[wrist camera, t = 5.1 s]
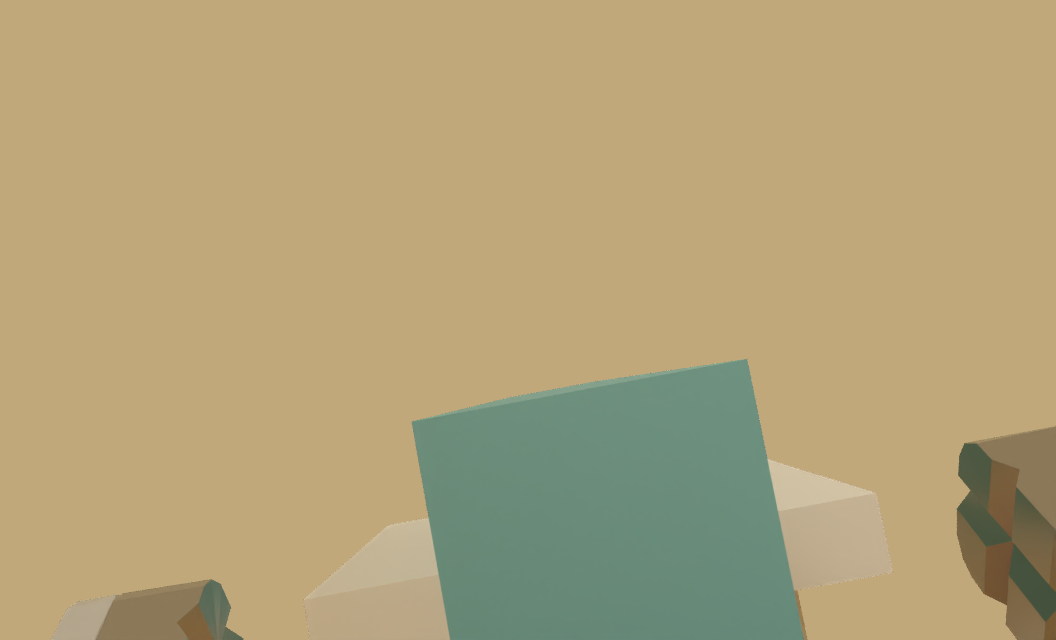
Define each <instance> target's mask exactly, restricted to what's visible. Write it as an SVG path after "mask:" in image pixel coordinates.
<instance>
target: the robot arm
mask: <svg viewBox="0 0 1056 640" xmlns="http://www.w3.org/2000/svg"><path fill="white" fill-rule="evenodd" d="M958 475H959V477H960V478H961V479H962V480H963V482H964V483H965V484H966V485H967V486H968V488H969V489H970V490H971V491H970V492H969V494H968V495H967V496H966V497H965V499H964V500H963V501H962V503H961V504H960V505H959V507H958V508H957V536H958V540H959V544H960V548H961V552H962V556H963V560H964V561H965V563H966V566H967V568H968V570H969V572H970V574H971V576H972V578H973V579H974V581H975V582H976V583H977V585H978V586H979V588H980V589H981V591H982V592H983V594H985V595H987V596H989V597H992V598H993V599H995V600H997V601H999V602H1001V603H1004V604H1006V605H1007V614H1006V625H1007V627H1008V628H1009V629H1010V631H1011V632H1012V633H1013V635H1014V636H1015V637H1016V639H1017V640H1056V426H1055V427H1050V428H1044V429H1039V430H1033V431H1028V432H1023V433H1018V434H1012V435H1007V436H1001V437H996V438H991V439H986V440H980V441H975V442H969V443H964V446H963V448H962V451H961V453H960V456H959V472H958ZM230 609H231V607H230V604H229V602H228V600H227V597H226V595H225V593H224V591H223V589H222V586H221V584H220V583H218V582H216V581H214V580H204V581H198V582H192V583H186V584H180V585H173V586H167V587H160V588H154V589H148V590H142V591H135V592H129V593H123V594H122V595H113V596H107V597H101V598H95V599H89V600H84V601H78V602H76V603H75V604H74V605H72V606H70V607H69V608H68V609H67V610H66V611H65V613H64V615H63V617H62V619H61V621H60V623H59V625H58V627H57V629H56V631H55V633H54V635H53V637H52V639H51V640H243V638H242V637H240V636H239V635H237V634H236V633H234V632H233V631H231V630H230V629H228V628H226V623H227V620H228V616H229V612H230Z"/></svg>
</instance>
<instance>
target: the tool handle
mask: <svg viewBox="0 0 1056 640" xmlns="http://www.w3.org/2000/svg"><path fill="white" fill-rule="evenodd" d="M412 425H413V432H414V438H415V443H416V449H417V455H418V460H419V466H420V472H421V477H422V483H423V489H424V494H425V500H426V506H427V511H428V516H429V523H430V528H431V534H432V540H433V545H434V551H435V557H436V562H437V568H438V574H439V579H440V585H441V591H442V597H443V602H444V608H445V614H446V619H447V625H448V631H449V636H450V640H804V637H803V632H802V627H801V622H800V617H799V612H798V607H797V602H796V598H795V593H794V588H793V583H792V578H791V573H790V568H789V563H788V558H787V553H786V548H785V543H784V538H783V533H782V529H781V524H780V519H779V514H778V509H777V504H776V499H775V494H774V489H773V484H772V479H771V474H770V469H769V464H768V460H767V455H766V450H765V445H764V440H763V435H762V430H761V425H760V420H759V415H758V411H757V405H756V400H755V395H754V391H753V386H752V381H751V376H750V371H749V366H748V361H747V359H744V360H738V361H731V362H724V363H717V364H711V365H704V366H697V367H690V368H684V369H677V370H670V371H663V372H657V373H650V374H644V375H636V376H630V377H624V378H617V379H609V380H603V381H596V382H590V383H585V384H580V385H575V386H569V387H564V388H558V389H553V390H547V391H542V392H537V393H531V394H526V395H521V396H515V397H510V398H506V399H502V400H498V401H494V402H490V403H486V404H481V405H478V406H474V407H469V408H466V409H461V410H457V411H453V412H449V413H445V414H441V415H437V416H433V417H429V418H425V419H420V420H417V421H413V422H412Z"/></svg>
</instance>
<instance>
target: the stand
mask: <svg viewBox="0 0 1056 640" xmlns="http://www.w3.org/2000/svg"><path fill="white" fill-rule="evenodd" d="M767 460H768V464H769V469H770V474H771V479H772V484H773V489H774V494H775V499H776V504H777V509H778V514H779V519H780V524H781V529H782V533H783V538H784V543H785V548H786V553H787V558H788V563H789V568H790V573H791V578H792V583H793V588H794V593H795V598H796V602H797V607H798V612H799V617H800V622H801V627H802V632H803V637H804V640H807V636H806V631H805V626H804V621H803V616H802V611H801V606H800V601H799V596H798V591H797V590H802V589H807V588H812V587H818V586H823V585H828V584H833V583H839V582H845V581H850V580H855V579H861V578H865V577H872V576H877V575H882V574H888V573H892V572H893V571H892V566H891V561H890V556H889V552H888V547H887V542H886V537H885V533H884V528H883V523H882V518H881V514H880V509H879V504H878V499H877V495H876V493H874V492H871V491H868V490H865V489H862V488H858V487H855V486H852V485H849V484H845V483H842V482H839V481H836V480H833V479H829V478H826V477H823V476H820V475H817V474H814V473H810V472H807V471H804V470H801V469H797V468H794V467H791V466H787V465H785V464H781V463H778V462H775V461H772V460H769V459H767ZM303 601H304V607H305V613H306V619H307V625H308V632H309V637H310V640H450V636H449V631H448V625H447V619H446V614H445V608H444V602H443V597H442V591H441V585H440V579H439V574H438V568H437V562H436V557H435V551H434V545H433V540H432V534H431V528H430V523H429V518H425V519H420V520H415V521H409V522H404V523H398V524H393V525H388V526H387V527H386V528H385V529H383V530H382V531H381V532H380V533H379V534H378V535H376V536H375V537H374V538H373V539H372V540H371V541H370V542H369V543H367V544H366V545H365V546H364V547H363V548H362V549H361V550H359V551H358V552H357V553H356V554H355V555H354V556H353V557H351V558H350V559H349V560H348V561H347V562H346V563H345V564H343V565H342V566H341V567H340V568H339V569H338V570H337V571H335V572H334V573H333V574H332V575H331V576H330V577H329V578H327V579H326V580H325V581H324V582H323V583H322V584H321V585H319V586H318V587H317V588H316V589H315V590H314V591H313V592H311V593H310V594H309V595H308V596H307V597H306V598H305V599H303Z"/></svg>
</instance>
